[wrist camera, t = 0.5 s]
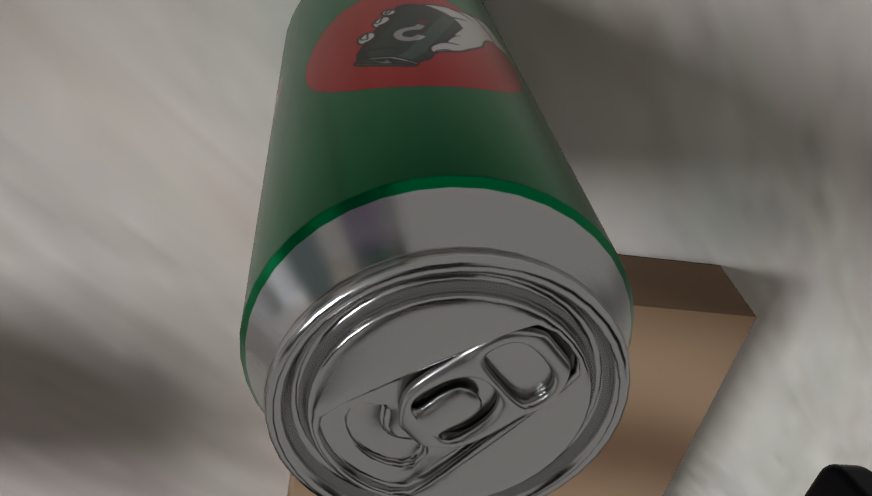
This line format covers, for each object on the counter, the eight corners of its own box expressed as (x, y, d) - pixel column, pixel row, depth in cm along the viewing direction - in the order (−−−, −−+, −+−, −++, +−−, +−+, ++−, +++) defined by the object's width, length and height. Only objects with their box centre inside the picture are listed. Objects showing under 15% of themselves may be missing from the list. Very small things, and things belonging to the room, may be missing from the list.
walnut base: (600, 518, 30) (619, 576, 28) (285, 506, 28) (281, 569, 26) (719, 265, 24) (756, 316, 22) (325, 222, 21) (324, 276, 19)
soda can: (240, 31, 18) (129, 392, 8) (416, -103, 17) (528, 135, 7) (369, 181, 21) (401, 593, 11) (530, 75, 20) (728, 428, 10)
